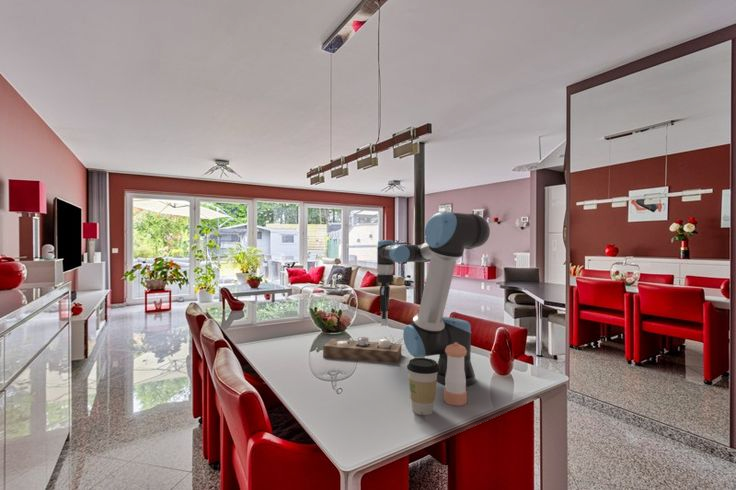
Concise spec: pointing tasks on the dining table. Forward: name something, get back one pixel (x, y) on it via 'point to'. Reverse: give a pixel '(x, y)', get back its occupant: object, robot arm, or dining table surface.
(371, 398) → the dining table surface
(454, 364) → the salt shaker
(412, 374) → the coffee cup
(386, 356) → the block
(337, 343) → the left knob
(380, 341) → the right knob
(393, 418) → the dining table surface
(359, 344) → the pot dial
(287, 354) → the dining table surface
